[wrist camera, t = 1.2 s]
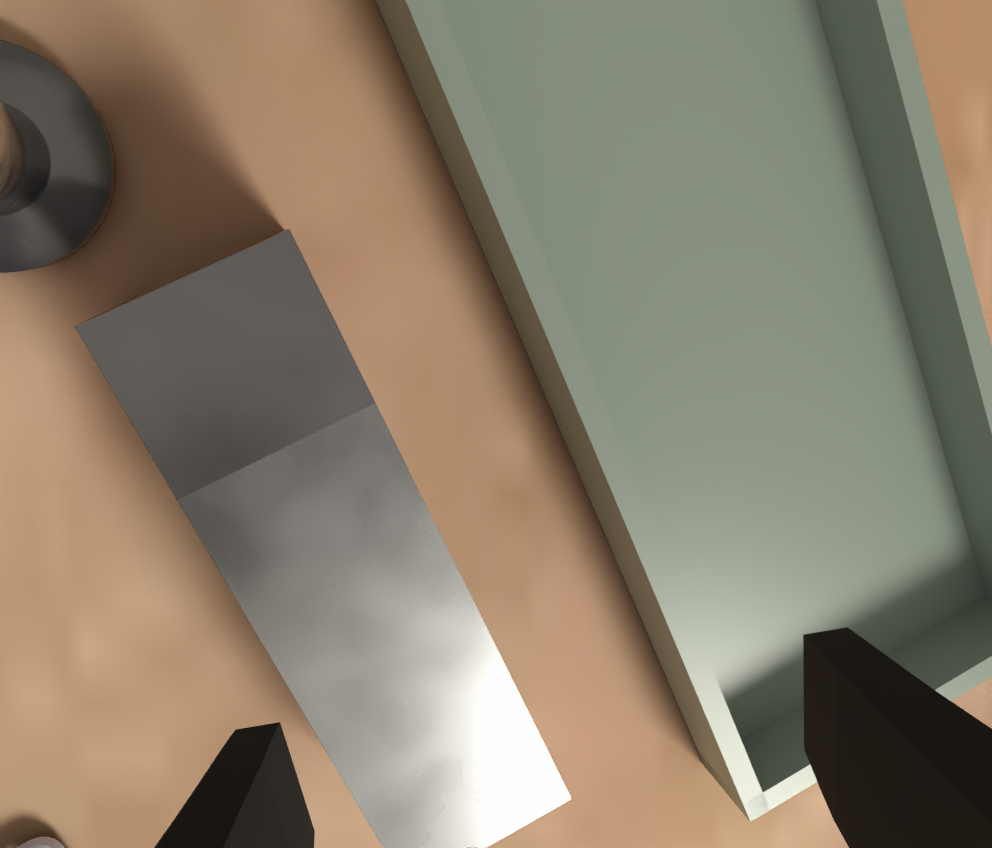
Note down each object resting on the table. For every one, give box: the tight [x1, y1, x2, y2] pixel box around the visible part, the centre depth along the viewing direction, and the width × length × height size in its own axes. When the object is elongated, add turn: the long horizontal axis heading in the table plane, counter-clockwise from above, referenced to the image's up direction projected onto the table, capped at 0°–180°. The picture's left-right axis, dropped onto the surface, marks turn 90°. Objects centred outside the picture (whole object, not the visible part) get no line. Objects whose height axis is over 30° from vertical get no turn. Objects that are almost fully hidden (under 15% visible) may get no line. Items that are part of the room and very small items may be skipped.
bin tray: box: [376, 0, 992, 822], centre depth 21 cm, size 10×24×2 cm, turn 24°
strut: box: [75, 229, 571, 848], centre depth 19 cm, size 4×14×4 cm, turn 24°
